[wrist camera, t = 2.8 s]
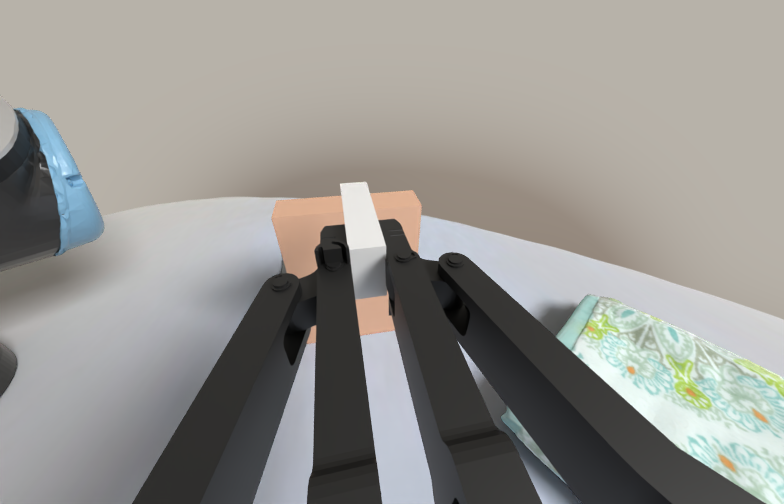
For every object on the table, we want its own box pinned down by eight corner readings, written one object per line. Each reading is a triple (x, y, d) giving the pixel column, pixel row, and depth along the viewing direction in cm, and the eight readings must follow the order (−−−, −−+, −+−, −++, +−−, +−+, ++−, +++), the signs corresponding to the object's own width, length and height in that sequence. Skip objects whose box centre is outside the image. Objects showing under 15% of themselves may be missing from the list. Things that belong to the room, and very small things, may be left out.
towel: (791, 420, 26) (845, 391, 23) (802, 723, 14) (914, 748, 11) (579, 308, 37) (597, 278, 34) (488, 430, 25) (502, 402, 22)
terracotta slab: (306, 343, 32) (271, 218, 22) (308, 320, 34) (276, 199, 25) (411, 327, 33) (421, 205, 24) (405, 306, 36) (412, 189, 26)
